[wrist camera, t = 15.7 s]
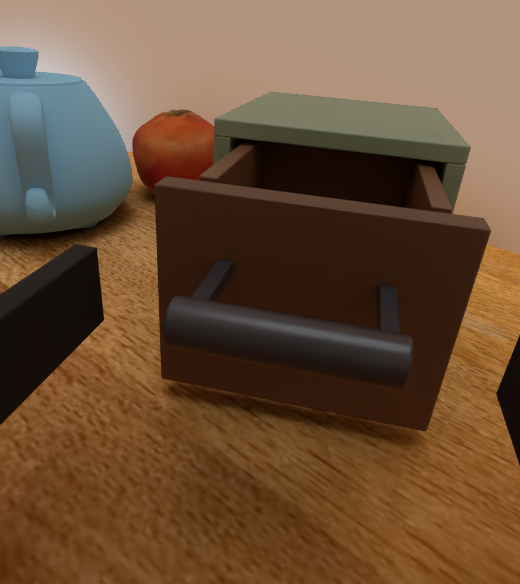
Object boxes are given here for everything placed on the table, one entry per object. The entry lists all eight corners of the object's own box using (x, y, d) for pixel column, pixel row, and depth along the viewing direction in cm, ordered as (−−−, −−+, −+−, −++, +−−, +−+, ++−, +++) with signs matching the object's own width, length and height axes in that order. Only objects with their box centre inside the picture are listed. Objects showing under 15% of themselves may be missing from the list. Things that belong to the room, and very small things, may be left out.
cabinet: (419, 334, 28) (471, 146, 23) (209, 298, 30) (214, 118, 25) (406, 242, 41) (437, 108, 36) (260, 221, 43) (269, 91, 38)
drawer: (440, 543, 15) (536, 303, 11) (105, 464, 17) (78, 232, 13) (408, 285, 31) (442, 147, 27) (237, 258, 33) (244, 125, 29)
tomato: (166, 215, 42) (163, 120, 39) (117, 188, 48) (110, 103, 44) (246, 198, 48) (250, 115, 44) (193, 176, 54) (193, 100, 50)
